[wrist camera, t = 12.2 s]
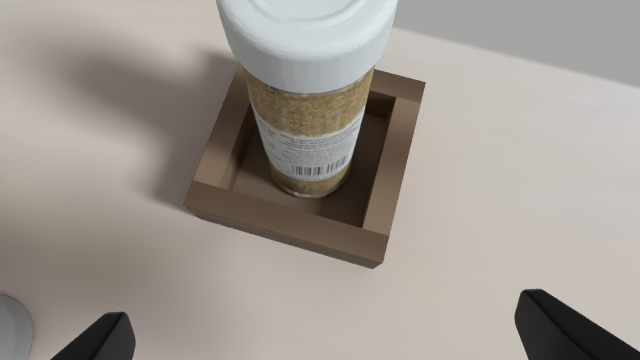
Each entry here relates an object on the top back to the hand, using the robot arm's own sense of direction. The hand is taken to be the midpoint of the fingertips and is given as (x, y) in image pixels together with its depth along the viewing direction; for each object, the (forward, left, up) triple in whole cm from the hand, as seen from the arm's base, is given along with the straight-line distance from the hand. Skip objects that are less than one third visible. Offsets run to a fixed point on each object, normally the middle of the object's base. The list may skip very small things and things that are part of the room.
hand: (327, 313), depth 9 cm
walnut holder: (+3, +7, -12) cm, 14 cm away
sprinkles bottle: (+3, +7, -12) cm, 14 cm away
